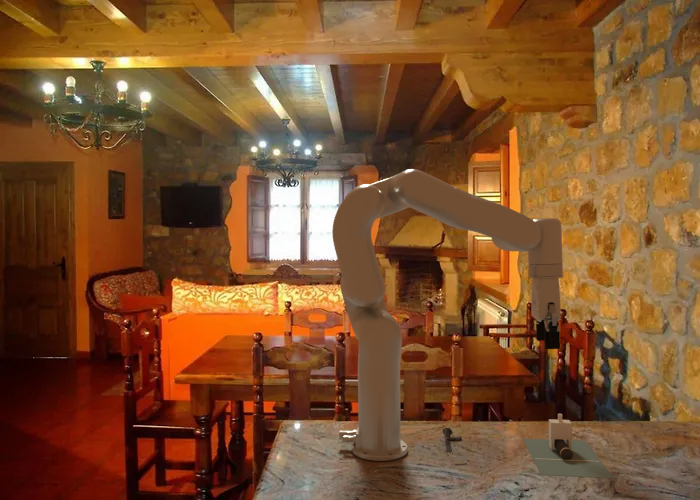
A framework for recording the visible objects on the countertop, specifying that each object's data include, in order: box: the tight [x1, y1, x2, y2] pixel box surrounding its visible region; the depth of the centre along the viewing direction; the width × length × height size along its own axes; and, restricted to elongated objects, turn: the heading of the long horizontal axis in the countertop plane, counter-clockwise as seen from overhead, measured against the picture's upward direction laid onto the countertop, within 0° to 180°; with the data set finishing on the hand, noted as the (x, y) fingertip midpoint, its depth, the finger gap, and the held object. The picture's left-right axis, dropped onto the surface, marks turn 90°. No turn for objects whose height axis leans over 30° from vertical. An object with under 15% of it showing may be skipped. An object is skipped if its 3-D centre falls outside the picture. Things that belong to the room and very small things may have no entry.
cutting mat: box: [522, 438, 615, 479], centre depth 121 cm, size 14×20×1 cm
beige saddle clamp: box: [548, 413, 573, 450], centre depth 124 cm, size 4×2×8 cm, turn 83°
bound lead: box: [554, 439, 573, 460], centre depth 123 cm, size 2×10×2 cm, turn 173°
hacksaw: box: [442, 427, 468, 467], centre depth 127 cm, size 24×10×2 cm, turn 174°
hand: (547, 344), depth 131 cm, fingers open, 9 cm apart
